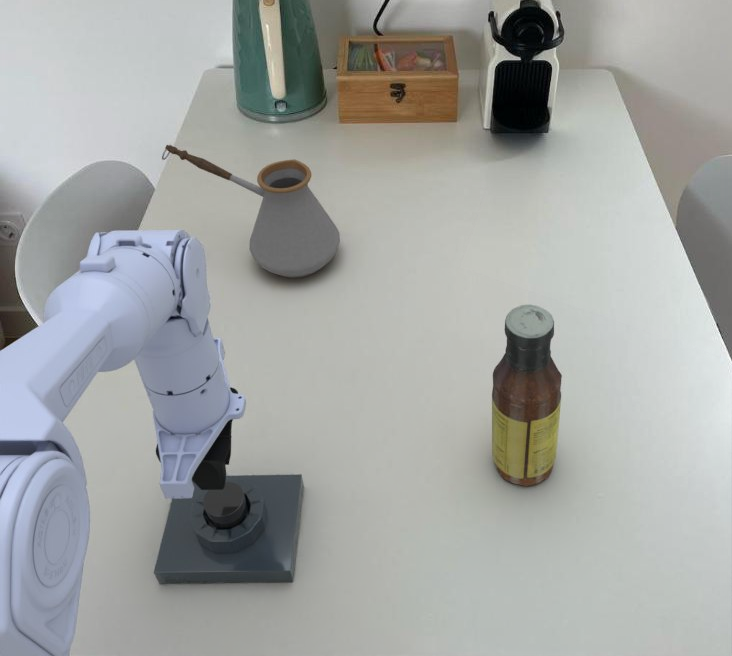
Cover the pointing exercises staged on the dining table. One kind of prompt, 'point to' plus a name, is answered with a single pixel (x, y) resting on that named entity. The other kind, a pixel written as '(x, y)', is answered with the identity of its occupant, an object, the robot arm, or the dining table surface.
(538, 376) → the sauce bottle
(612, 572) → the dining table surface
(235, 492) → the dark grey push button
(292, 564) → the grey button housing
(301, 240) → the coffee pot
